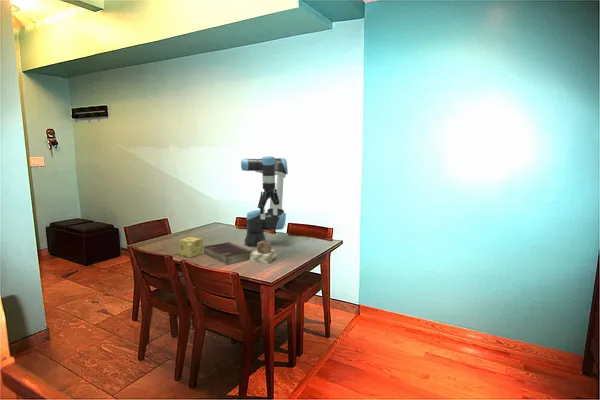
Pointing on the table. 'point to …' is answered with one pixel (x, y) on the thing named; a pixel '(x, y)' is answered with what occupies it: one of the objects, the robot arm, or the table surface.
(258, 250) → the walnut cube
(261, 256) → the birch block
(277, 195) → the robot arm
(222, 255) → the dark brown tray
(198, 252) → the cheese
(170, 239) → the table surface
